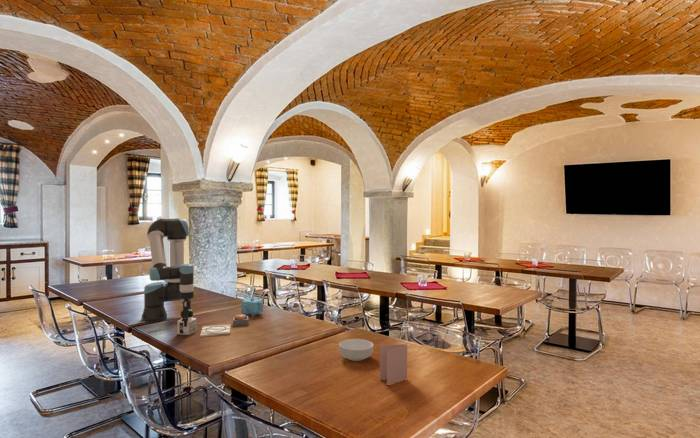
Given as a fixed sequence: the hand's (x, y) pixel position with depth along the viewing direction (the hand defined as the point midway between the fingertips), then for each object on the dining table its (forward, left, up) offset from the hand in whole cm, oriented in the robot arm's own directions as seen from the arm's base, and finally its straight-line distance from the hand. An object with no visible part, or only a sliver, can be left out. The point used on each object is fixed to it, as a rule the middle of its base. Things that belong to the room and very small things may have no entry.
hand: (187, 329), depth 244 cm
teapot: (-33, +38, -2) cm, 50 cm away
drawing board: (+1, +16, -2) cm, 16 cm away
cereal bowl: (+63, +84, -2) cm, 105 cm away
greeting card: (+94, +92, -2) cm, 132 cm away
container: (0, 0, -2) cm, 2 cm away
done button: (-12, +30, 0) cm, 32 cm away
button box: (-12, +30, -2) cm, 32 cm away
